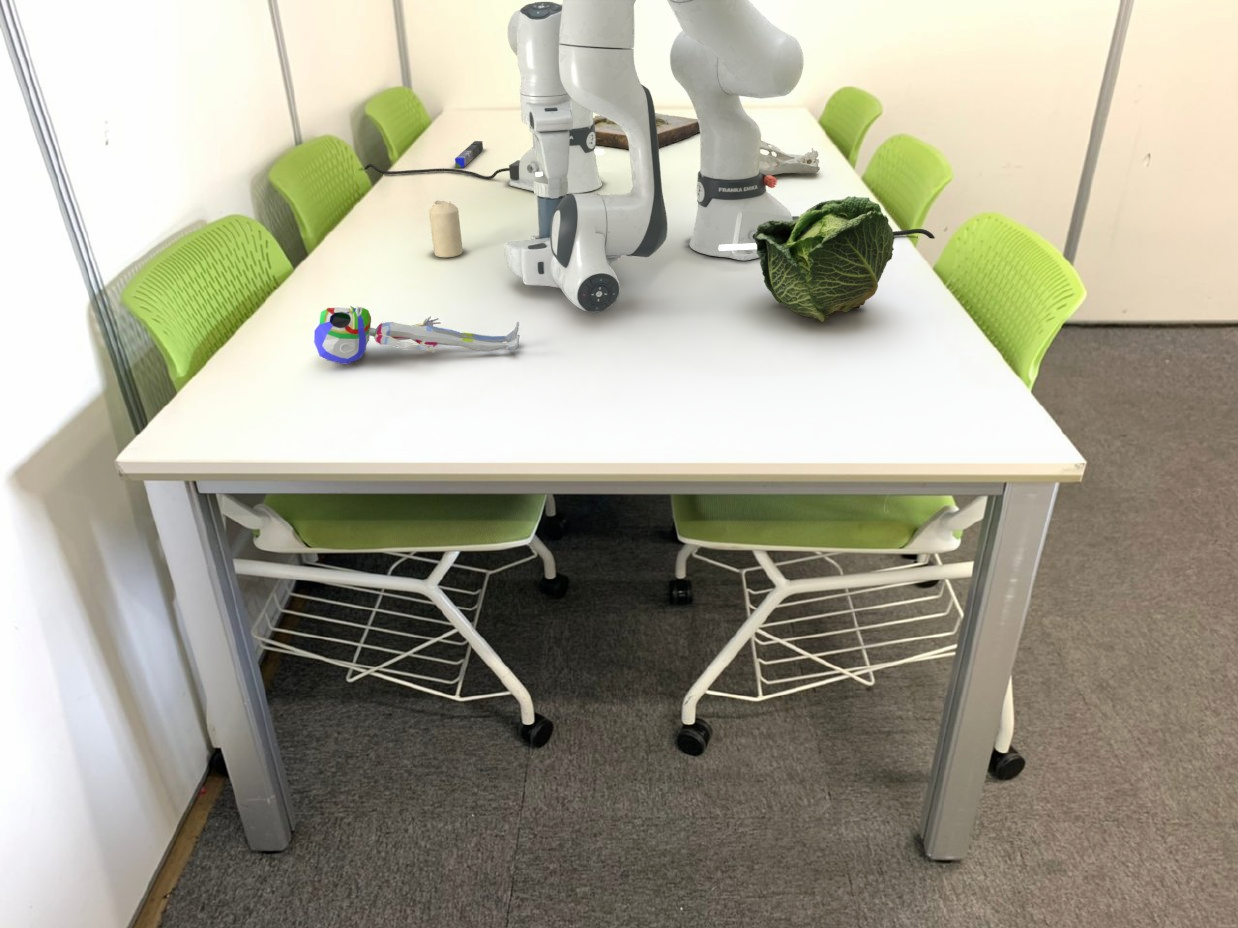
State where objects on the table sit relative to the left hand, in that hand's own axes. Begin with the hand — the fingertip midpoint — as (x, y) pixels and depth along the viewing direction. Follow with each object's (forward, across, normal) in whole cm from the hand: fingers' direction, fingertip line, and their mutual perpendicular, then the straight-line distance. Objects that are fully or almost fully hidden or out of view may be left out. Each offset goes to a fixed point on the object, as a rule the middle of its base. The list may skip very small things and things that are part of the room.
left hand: (551, 192), depth 160 cm
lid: (-2, 0, 0) cm, 2 cm away
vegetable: (+14, +31, +40) cm, 52 cm away
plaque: (+14, -103, +37) cm, 110 cm away
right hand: (+9, -1, 0) cm, 9 cm away
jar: (+14, 0, 0) cm, 14 cm away
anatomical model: (+14, -54, +60) cm, 82 cm away
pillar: (+14, -88, -11) cm, 90 cm away
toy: (+14, +33, -25) cm, 44 cm away
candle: (+14, -13, -19) cm, 27 cm away
